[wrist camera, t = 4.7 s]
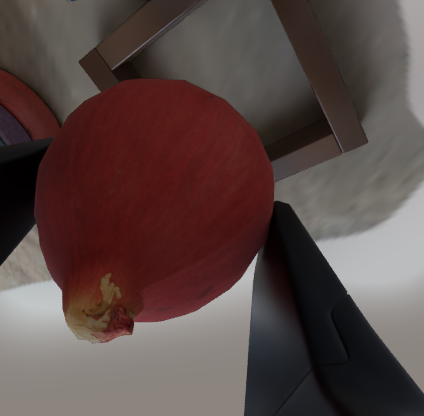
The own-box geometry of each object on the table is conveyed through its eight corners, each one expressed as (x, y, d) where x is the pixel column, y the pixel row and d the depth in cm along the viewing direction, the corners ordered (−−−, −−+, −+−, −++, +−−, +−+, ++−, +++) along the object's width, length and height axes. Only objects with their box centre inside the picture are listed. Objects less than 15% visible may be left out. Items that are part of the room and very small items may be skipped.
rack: (203, 196, 21) (195, 216, 20) (99, 52, 17) (77, 62, 16) (361, 124, 17) (369, 143, 15) (269, -92, 13) (265, -102, 11)
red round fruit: (203, 229, 14) (126, 443, 8) (91, 136, 13) (-120, 308, 6) (315, 142, 11) (342, 386, 5) (183, 3, 9) (-56, 80, 3)
